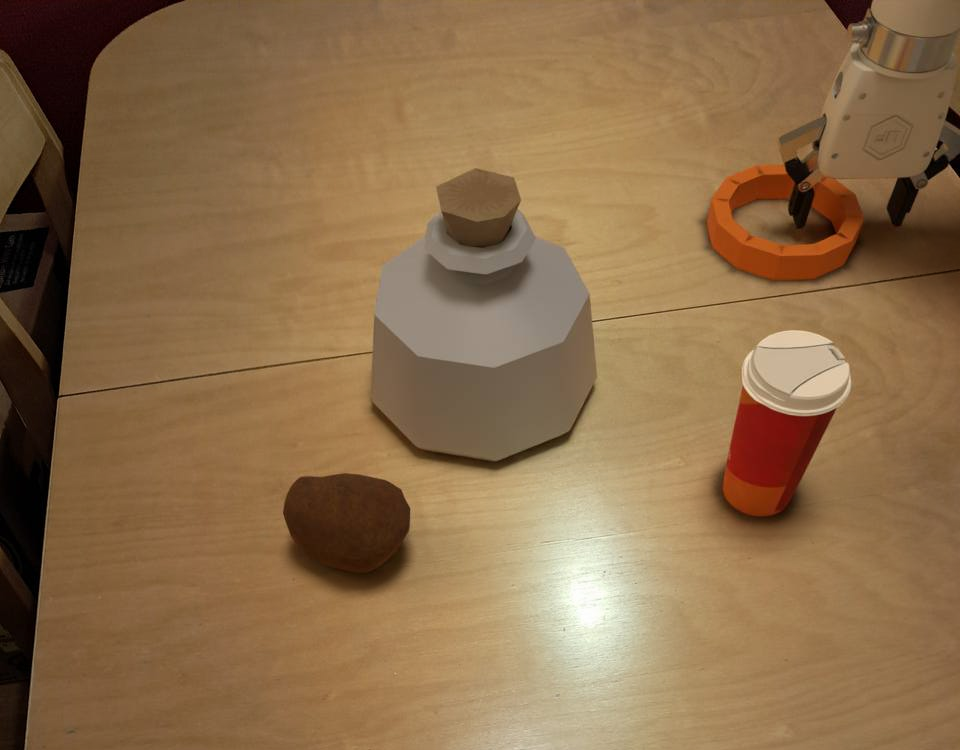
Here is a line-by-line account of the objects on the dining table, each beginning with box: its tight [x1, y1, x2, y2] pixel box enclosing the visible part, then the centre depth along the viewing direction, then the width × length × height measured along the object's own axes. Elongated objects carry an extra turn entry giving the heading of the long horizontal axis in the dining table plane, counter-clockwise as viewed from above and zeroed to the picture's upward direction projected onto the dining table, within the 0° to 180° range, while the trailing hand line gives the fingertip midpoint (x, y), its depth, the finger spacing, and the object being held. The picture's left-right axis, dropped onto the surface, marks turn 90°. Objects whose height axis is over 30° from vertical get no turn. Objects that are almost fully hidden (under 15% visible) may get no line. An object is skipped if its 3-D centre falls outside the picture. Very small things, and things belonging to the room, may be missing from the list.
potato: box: [282, 472, 411, 574], centre depth 74 cm, size 7×10×8 cm
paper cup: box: [722, 329, 852, 517], centre depth 74 cm, size 8×8×14 cm
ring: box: [706, 164, 865, 281], centre depth 96 cm, size 14×14×3 cm
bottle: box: [370, 167, 598, 463], centre depth 79 cm, size 20×20×19 cm
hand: (845, 219), depth 96 cm, fingers open, 9 cm apart
